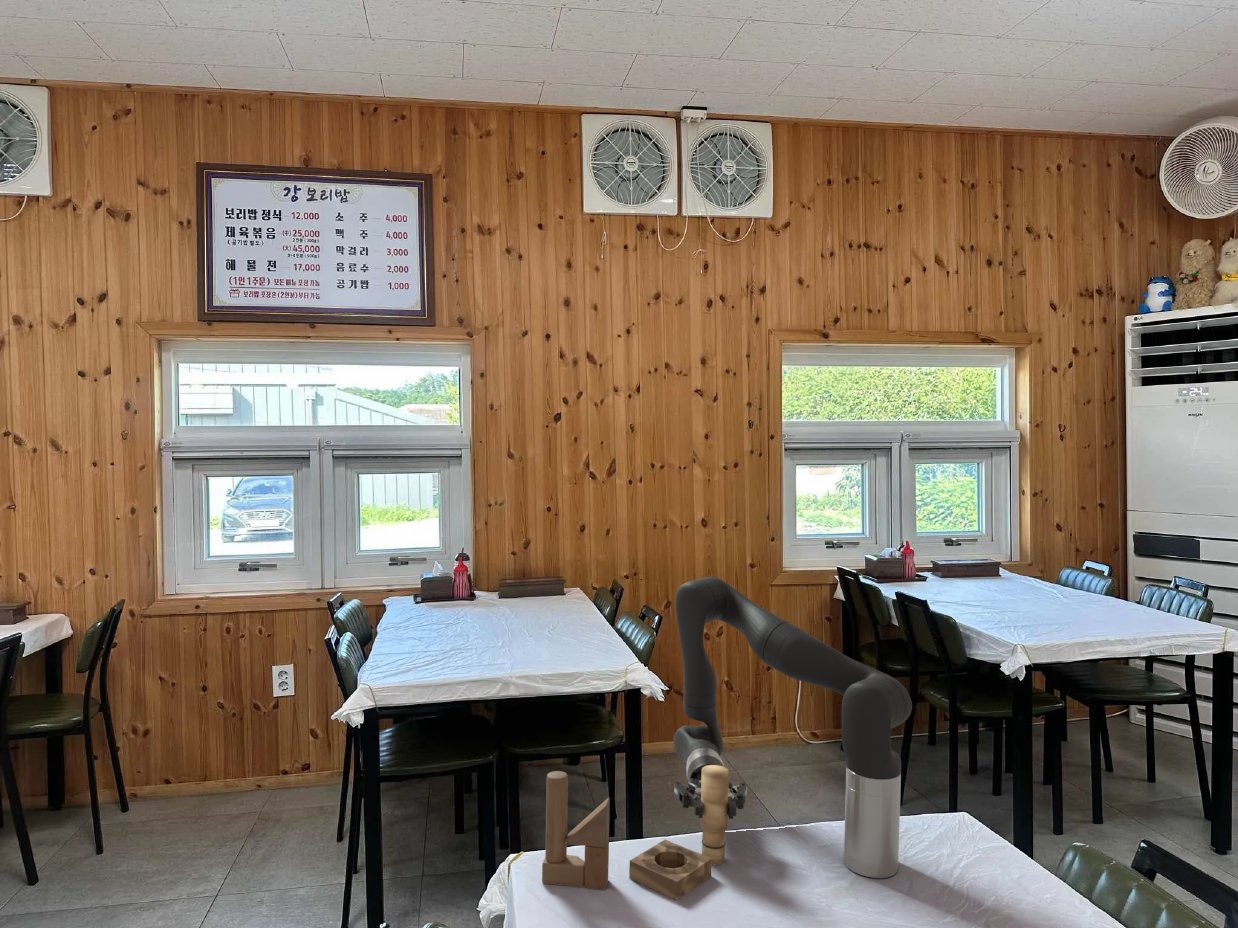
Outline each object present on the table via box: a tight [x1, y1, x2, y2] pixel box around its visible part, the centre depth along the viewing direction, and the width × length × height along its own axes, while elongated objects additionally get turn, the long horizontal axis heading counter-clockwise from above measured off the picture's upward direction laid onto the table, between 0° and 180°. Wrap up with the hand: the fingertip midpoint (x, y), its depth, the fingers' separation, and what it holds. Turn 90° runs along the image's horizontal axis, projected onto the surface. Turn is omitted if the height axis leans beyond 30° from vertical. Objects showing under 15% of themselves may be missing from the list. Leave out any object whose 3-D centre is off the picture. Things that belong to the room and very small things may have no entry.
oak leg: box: [699, 765, 730, 866], centre depth 146 cm, size 5×5×16 cm
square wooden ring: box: [628, 839, 712, 901], centre depth 140 cm, size 10×10×3 cm
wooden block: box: [541, 770, 611, 890], centre depth 138 cm, size 4×11×18 cm, turn 81°
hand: (716, 812), depth 144 cm, fingers closed on oak leg, 4 cm apart
